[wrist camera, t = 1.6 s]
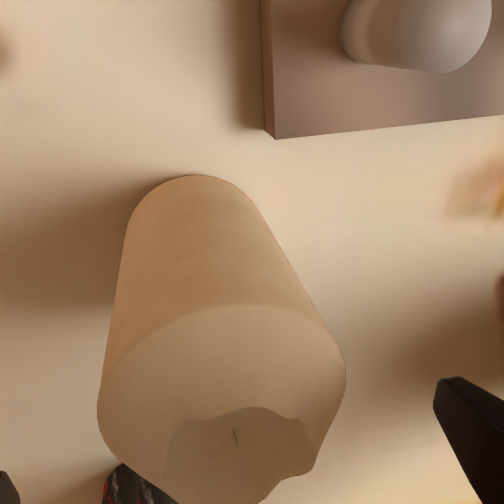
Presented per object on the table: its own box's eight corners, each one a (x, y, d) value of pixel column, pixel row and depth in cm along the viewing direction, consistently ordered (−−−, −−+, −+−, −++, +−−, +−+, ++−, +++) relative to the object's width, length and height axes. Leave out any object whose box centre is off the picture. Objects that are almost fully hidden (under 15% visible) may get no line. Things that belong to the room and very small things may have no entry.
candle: (144, 153, 14) (125, 331, 6) (283, 195, 16) (427, 377, 8) (111, 282, 16) (61, 555, 8) (237, 306, 18) (309, 549, 10)
